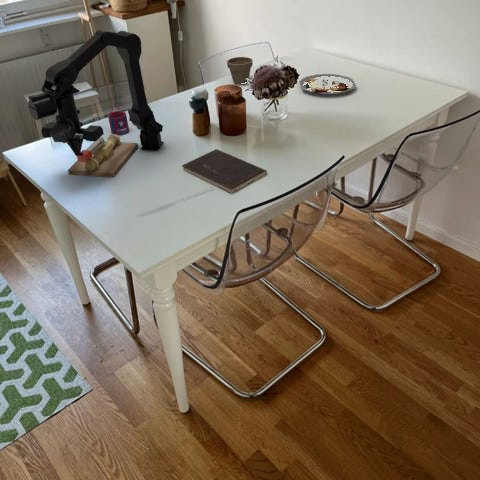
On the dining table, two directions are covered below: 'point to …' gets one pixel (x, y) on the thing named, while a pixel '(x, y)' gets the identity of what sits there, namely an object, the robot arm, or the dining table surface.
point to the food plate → (318, 90)
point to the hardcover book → (224, 170)
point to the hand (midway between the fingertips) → (78, 156)
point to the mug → (118, 122)
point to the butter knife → (199, 193)
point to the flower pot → (240, 68)
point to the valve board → (105, 159)
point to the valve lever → (90, 150)
